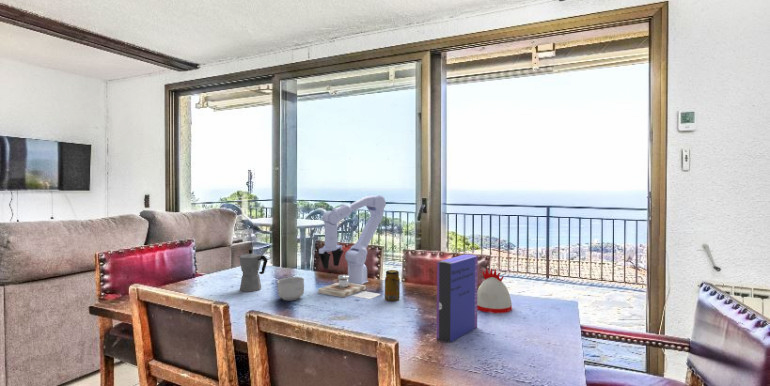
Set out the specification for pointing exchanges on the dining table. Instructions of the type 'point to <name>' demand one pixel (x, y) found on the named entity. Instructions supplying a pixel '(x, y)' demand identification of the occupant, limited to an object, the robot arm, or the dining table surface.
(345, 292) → the hole plate
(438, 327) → the blue book
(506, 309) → the beige rounded dome
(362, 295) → the tab
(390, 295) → the condiment
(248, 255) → the coffeepot
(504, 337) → the dining table surface
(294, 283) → the teacup
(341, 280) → the knob
